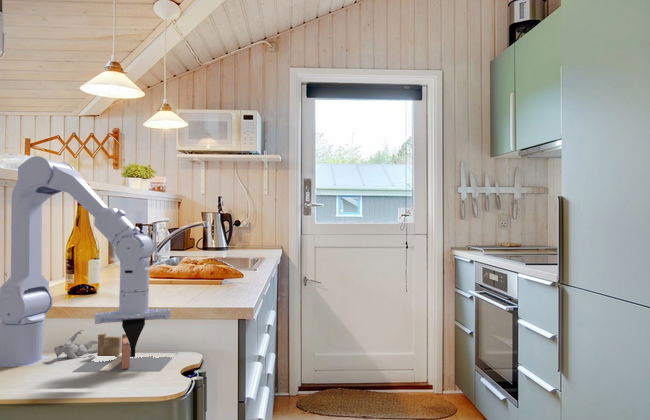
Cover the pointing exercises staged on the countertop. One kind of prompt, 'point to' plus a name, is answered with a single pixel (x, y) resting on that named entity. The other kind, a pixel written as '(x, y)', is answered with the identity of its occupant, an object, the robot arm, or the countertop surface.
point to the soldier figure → (76, 348)
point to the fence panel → (125, 354)
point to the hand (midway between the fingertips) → (132, 355)
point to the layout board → (135, 365)
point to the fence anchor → (109, 345)
